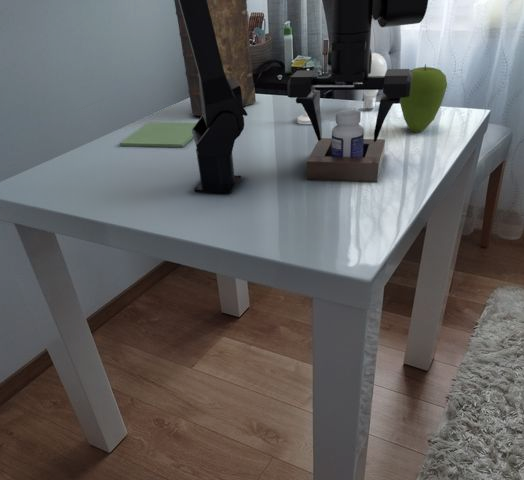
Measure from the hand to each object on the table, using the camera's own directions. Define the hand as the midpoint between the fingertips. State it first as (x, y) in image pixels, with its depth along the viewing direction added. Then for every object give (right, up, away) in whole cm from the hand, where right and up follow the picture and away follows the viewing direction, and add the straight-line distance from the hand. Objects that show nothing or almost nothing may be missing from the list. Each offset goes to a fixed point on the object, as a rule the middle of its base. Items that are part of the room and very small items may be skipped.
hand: (347, 140), depth 84 cm
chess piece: (-4, +14, +25) cm, 29 cm away
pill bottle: (0, -4, +3) cm, 5 cm away
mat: (-35, +11, +24) cm, 44 cm away
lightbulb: (+10, +19, +28) cm, 35 cm away
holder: (0, -3, +3) cm, 5 cm away
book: (-24, +23, +37) cm, 50 cm away
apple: (+17, +8, +16) cm, 24 cm away
